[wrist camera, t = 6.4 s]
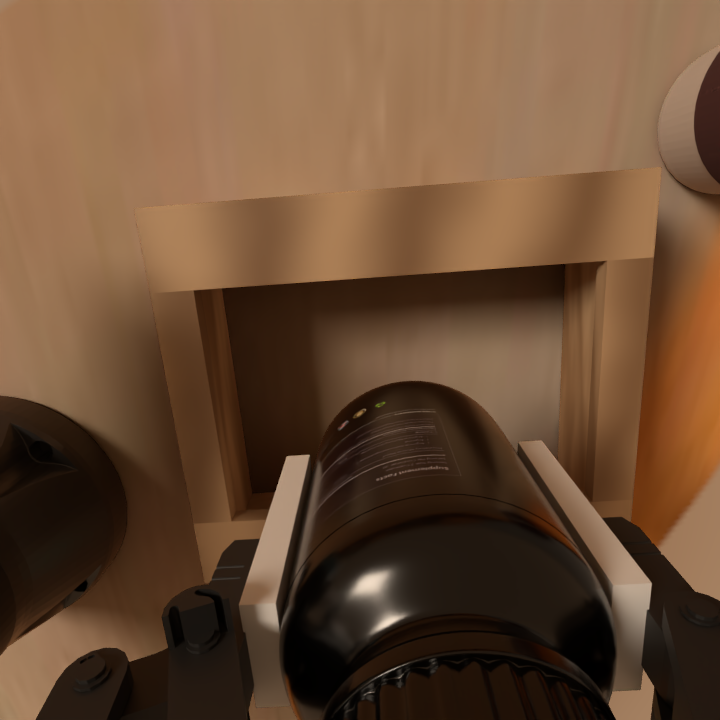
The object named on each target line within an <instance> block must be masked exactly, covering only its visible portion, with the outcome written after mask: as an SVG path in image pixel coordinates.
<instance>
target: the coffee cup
mask: <svg viewBox="0 0 720 720" xmlns="http://www.w3.org/2000/svg"><path fill="white" fill-rule="evenodd" d="M657 136H658V146H659V150H660V154H661V157H662V160H663V162H664V163H665V165H666V167H667V169H668V170H669V172H670V173H671V174H672V175H673V176H674V177H675V179H677V180H678V181H679V182H680V183H682V184H683V185H685V186H687V187H689V188H691V189H693V190H696V191H699V192H703V193H709V194H720V45H718V46H716V47H715V48H713V49H711V50H710V51H708V52H706V53H705V54H703V55H702V56H700V57H699V58H697V59H696V60H695V61H694V62H692V63H691V64H690V65H689V66H688V67H687V68H686V69H685V70H684V71H683V72H682V73H681V74H680V76H679V77H678V78H677V80H676V81H675V82H674V84H673V85H672V87H671V88H670V90H669V92H668V94H667V96H666V98H665V100H664V102H663V105H662V108H661V112H660V115H659V121H658V128H657Z"/></svg>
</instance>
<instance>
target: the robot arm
mask: <svg viewBox="0 0 720 720" xmlns="http://www.w3.org/2000/svg"><path fill="white" fill-rule="evenodd" d="M518 456H519V457H520V459H521V460H522V462H523V463H524V465H525V466H526V468H527V469H528V471H529V473H530V474H531V476H532V477H533V479H534V480H535V482H536V483H537V485H538V486H539V488H540V489H541V491H542V492H543V494H544V495H545V497H546V498H547V500H548V501H549V503H550V504H551V506H552V507H553V509H554V511H555V512H556V514H557V515H558V517H559V518H560V520H561V521H562V523H563V524H564V526H565V527H566V529H567V530H568V532H569V533H570V535H571V536H572V538H573V539H574V541H575V542H576V544H577V546H578V547H579V549H580V550H581V552H582V553H583V555H584V556H585V558H586V560H587V561H588V563H589V564H590V566H591V568H592V569H593V571H594V573H595V575H596V577H597V578H598V580H599V582H600V584H601V586H602V588H603V590H604V592H605V594H606V596H607V599H608V601H609V605H610V608H611V611H612V614H613V618H614V623H615V629H616V637H617V667H616V676H615V681H614V686H613V691H628V690H640V689H641V681H642V672H643V669H644V670H645V672H646V673H647V675H648V677H649V679H650V680H651V682H652V684H653V685H654V696H653V704H652V713H651V720H720V601H719V600H717V599H715V598H713V597H710V596H708V595H705V594H701V593H698V592H695V591H694V590H693V589H692V588H691V586H690V585H689V584H688V583H687V582H686V581H685V580H684V578H682V576H681V575H680V574H679V573H678V571H677V570H676V569H675V568H674V567H673V566H672V565H671V564H670V562H669V561H668V560H667V559H666V558H665V556H664V555H661V552H660V551H659V550H658V548H657V547H656V546H655V545H654V544H652V543H651V540H650V539H649V538H648V537H647V536H646V535H645V533H644V532H643V531H642V530H641V529H640V528H639V527H638V526H636V525H634V524H633V523H631V522H629V521H628V520H626V519H625V518H623V517H607V518H601V517H600V515H599V514H598V513H597V512H596V510H595V509H594V508H593V506H592V505H591V504H590V503H589V501H588V500H587V499H586V497H585V496H584V495H583V493H582V492H581V491H580V490H579V488H578V487H577V486H576V484H575V483H574V482H573V480H572V479H571V478H570V477H569V475H568V474H567V473H566V471H565V470H564V469H563V468H562V466H561V465H560V464H559V462H558V461H557V460H556V458H555V457H554V456H553V455H552V453H551V452H550V451H549V449H548V448H547V447H546V446H545V444H544V443H543V442H542V440H539V441H523V442H518ZM311 477H312V470H311V461H310V455H297V456H287V457H286V460H285V463H284V466H283V469H282V473H281V476H280V479H279V482H278V485H277V488H276V491H275V494H274V497H273V500H272V504H271V507H270V510H269V513H268V516H267V519H266V522H265V525H264V528H263V531H262V535H261V538H260V539H244V540H234V541H233V542H232V543H231V544H230V545H229V546H228V547H227V548H226V549H225V550H224V551H223V552H222V554H221V557H220V559H219V562H218V564H217V566H216V569H215V571H214V573H213V576H212V580H211V581H210V583H209V585H201V586H195V587H192V588H190V589H187V590H185V591H182V592H181V593H180V594H178V595H177V596H175V597H174V598H173V599H172V600H171V601H170V602H169V603H168V604H167V606H166V607H165V608H164V611H163V615H162V621H163V626H164V630H165V635H166V639H167V644H168V648H167V649H165V650H163V651H161V652H158V653H156V654H153V655H150V656H147V657H144V658H140V659H137V660H134V661H131V662H129V661H128V658H127V656H126V654H125V652H123V651H121V650H119V649H117V648H103V649H99V650H95V651H92V652H90V653H88V654H86V655H84V656H82V657H80V658H78V659H77V660H76V661H74V662H73V663H72V664H71V665H70V666H68V667H67V668H66V669H65V670H64V672H63V673H62V674H61V676H60V677H59V678H58V680H57V681H56V683H55V685H54V687H53V689H52V690H51V692H50V694H49V696H48V698H47V700H46V701H45V703H44V705H43V707H42V709H41V711H40V712H39V714H38V716H37V718H36V720H250V716H249V711H248V710H249V706H250V701H251V697H252V693H253V692H254V698H255V704H256V708H266V707H288V706H291V705H290V702H289V700H288V697H287V694H286V691H285V687H284V683H283V680H282V675H281V669H280V661H279V639H280V629H281V622H282V615H283V609H284V605H285V600H286V595H287V590H288V585H289V581H290V576H291V571H292V567H293V562H294V557H295V552H296V548H297V543H298V538H299V534H300V529H301V524H302V519H303V515H304V510H305V505H306V500H307V496H308V491H309V486H310V482H311ZM126 524H127V507H126V500H125V495H124V491H123V488H122V485H121V482H120V479H119V477H118V475H117V473H116V471H115V469H114V467H113V465H112V464H111V462H110V460H109V459H108V457H107V456H106V455H105V453H104V452H103V451H102V449H101V448H100V447H99V446H98V445H97V444H96V442H95V441H94V440H93V439H92V438H91V437H90V436H89V435H87V434H86V433H85V432H84V431H83V430H82V429H81V428H79V427H78V426H77V425H75V424H74V423H73V422H71V421H70V420H68V419H67V418H65V417H63V416H62V415H60V414H58V413H56V412H54V411H52V410H50V409H48V408H46V407H43V406H41V405H38V404H36V403H33V402H29V401H26V400H22V399H18V398H12V397H5V396H0V655H1V654H2V653H3V652H4V651H5V650H6V648H7V647H8V646H10V645H11V644H13V643H14V642H16V641H17V640H19V639H20V638H22V637H23V636H25V635H26V634H28V633H29V632H31V631H32V630H34V629H35V628H37V627H38V626H40V625H41V624H43V623H44V622H46V621H47V620H49V619H50V618H52V617H53V616H54V615H56V614H57V613H59V612H60V611H61V610H63V609H64V608H66V607H68V606H69V605H71V604H72V603H74V602H75V601H77V600H78V599H79V598H81V597H82V596H83V595H84V594H85V593H86V592H87V591H89V590H90V589H91V588H92V587H93V586H94V584H95V583H96V582H97V581H98V580H99V578H100V577H101V576H102V574H103V573H104V572H105V570H106V569H107V568H108V566H109V565H110V563H111V562H112V561H113V559H114V558H115V556H116V555H117V553H118V551H119V549H120V547H121V545H122V542H123V539H124V535H125V531H126Z"/></svg>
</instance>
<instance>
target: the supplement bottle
mask: <svg viewBox="0 0 720 720" xmlns="http://www.w3.org/2000/svg"><path fill="white" fill-rule="evenodd" d="M279 661H280V669H281V675H282V680H283V683H284V687H285V691H286V694H287V697H288V700H289V702H290V705H291V707H292V709H293V712H294V714H295V716H296V718H297V720H616V719H615V717H614V715H613V713H612V711H611V709H610V707H609V705H608V704H609V700H610V697H611V694H612V691H613V686H614V681H615V676H616V667H617V637H616V629H615V623H614V618H613V614H612V611H611V608H610V605H609V601H608V599H607V596H606V594H605V592H604V590H603V588H602V586H601V584H600V582H599V580H598V578H597V577H596V575H595V573H594V571H593V569H592V568H591V566H590V564H589V563H588V561H587V560H586V558H585V556H584V555H583V553H582V552H581V550H580V549H579V547H578V546H577V544H576V542H575V541H574V539H573V538H572V536H571V535H570V533H569V532H568V530H567V529H566V527H565V526H564V524H563V523H562V521H561V520H560V518H559V517H558V515H557V514H556V512H555V511H554V509H553V507H552V506H551V504H550V503H549V501H548V500H547V498H546V497H545V495H544V494H543V492H542V491H541V489H540V488H539V486H538V485H537V483H536V482H535V480H534V479H533V477H532V476H531V474H530V473H529V471H528V469H527V468H526V466H525V465H524V463H523V462H522V460H521V459H520V457H519V456H518V454H517V453H516V451H515V450H514V448H513V447H512V445H511V444H510V442H509V441H508V439H507V438H506V436H505V435H504V433H503V432H502V430H501V429H500V428H499V426H498V425H497V423H496V422H495V421H494V419H493V418H492V417H491V416H490V415H489V414H488V412H487V411H486V410H485V409H484V408H483V407H482V406H480V405H479V404H478V403H477V402H476V401H474V400H473V399H472V398H470V397H469V396H467V395H465V394H463V393H462V392H460V391H458V390H455V389H453V388H451V387H448V386H445V385H441V384H437V383H432V382H425V381H402V382H396V383H390V384H387V385H383V386H380V387H377V388H375V389H372V390H370V391H368V392H366V393H364V394H362V395H361V396H359V397H357V398H356V399H354V400H353V401H352V402H350V403H349V404H348V405H347V406H346V407H344V408H343V409H342V410H341V411H340V412H339V413H338V415H337V416H336V417H335V418H334V419H333V421H332V422H331V424H330V425H329V427H328V428H327V430H326V432H325V434H324V436H323V438H322V440H321V443H320V445H319V448H318V451H317V455H316V460H315V463H314V468H313V472H312V477H311V482H310V486H309V491H308V496H307V500H306V505H305V510H304V515H303V519H302V524H301V529H300V534H299V538H298V543H297V548H296V552H295V557H294V562H293V567H292V571H291V576H290V581H289V585H288V590H287V595H286V600H285V605H284V609H283V615H282V622H281V629H280V639H279Z"/></svg>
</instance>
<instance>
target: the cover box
mask: <svg viewBox="0 0 720 720" xmlns="http://www.w3.org/2000/svg"><path fill="white" fill-rule="evenodd" d="M661 169H662V167H657V168H644V169H631V170H619V171H606V172H593V173H580V174H567V175H554V176H542V177H529V178H516V179H503V180H490V181H477V182H464V183H452V184H439V185H426V186H413V187H400V188H387V189H375V190H362V191H349V192H336V193H323V194H310V195H298V196H285V197H272V198H259V199H246V200H233V201H220V202H208V203H195V204H182V205H169V206H156V207H143V208H134V212H135V218H136V223H137V228H138V234H139V239H140V244H141V249H142V255H143V260H144V265H145V271H146V276H147V281H148V286H149V292H150V297H151V302H152V308H153V313H154V318H155V324H156V329H157V334H158V339H159V345H160V350H161V355H162V361H163V366H164V371H165V376H166V382H167V387H168V392H169V398H170V403H171V408H172V414H173V419H174V424H175V429H176V435H177V440H178V445H179V451H180V456H181V461H182V466H183V472H184V477H185V482H186V488H187V493H188V498H189V503H190V509H191V514H192V519H193V525H194V530H195V535H196V541H197V546H198V551H199V556H200V562H201V567H202V572H203V578H204V583H210V581H211V580H212V576H213V573H214V571H215V569H216V566H217V564H218V562H219V559H220V557H221V554H222V552H223V551H224V550H225V549H226V548H227V547H228V546H229V545H230V544H231V543H232V542H233V541H234V540H244V539H260V538H261V535H262V531H263V528H264V525H265V522H266V519H267V516H268V513H269V510H270V507H271V504H272V500H273V497H274V494H275V492H268V493H252V487H251V481H250V474H249V467H248V460H247V454H246V447H245V440H244V434H243V427H242V420H241V413H240V407H239V400H238V393H237V386H236V380H235V373H234V366H233V360H232V353H231V346H230V339H229V333H228V326H227V319H226V313H225V306H224V299H223V292H222V288H232V287H246V286H260V285H274V284H288V283H302V282H316V281H330V280H344V279H358V278H372V277H386V276H400V275H414V274H428V273H442V272H456V271H470V270H484V269H498V268H511V267H525V266H539V265H553V264H565V286H564V312H563V337H562V363H561V389H560V415H559V440H558V462H559V464H560V465H561V466H562V468H563V469H564V470H565V471H566V473H567V474H568V475H569V477H570V478H571V479H572V480H573V482H574V483H575V484H576V486H577V487H578V488H579V490H580V491H581V492H582V493H583V495H584V496H585V497H586V499H587V500H588V501H589V503H590V504H591V505H592V506H593V508H594V509H595V510H596V512H597V513H598V514H599V515H600V517H601V518H607V517H623V518H625V519H626V520H628V521H629V522H631V516H632V504H633V493H634V481H635V470H636V458H637V447H638V435H639V423H640V412H641V400H642V389H643V377H644V366H645V354H646V342H647V331H648V319H649V308H650V296H651V285H652V273H653V261H654V250H655V238H656V227H657V215H658V203H659V192H660V180H661Z"/></svg>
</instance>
